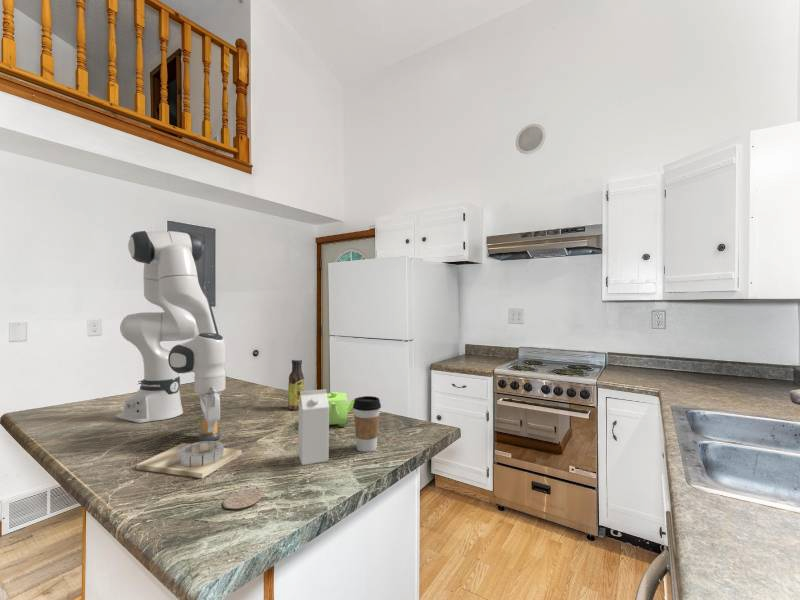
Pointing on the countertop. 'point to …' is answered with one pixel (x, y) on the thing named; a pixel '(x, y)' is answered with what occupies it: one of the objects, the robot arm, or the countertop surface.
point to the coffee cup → (366, 422)
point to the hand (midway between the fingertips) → (209, 428)
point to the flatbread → (242, 499)
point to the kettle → (338, 408)
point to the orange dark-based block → (209, 433)
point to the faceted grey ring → (192, 459)
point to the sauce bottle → (295, 384)
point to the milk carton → (313, 427)
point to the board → (169, 465)
